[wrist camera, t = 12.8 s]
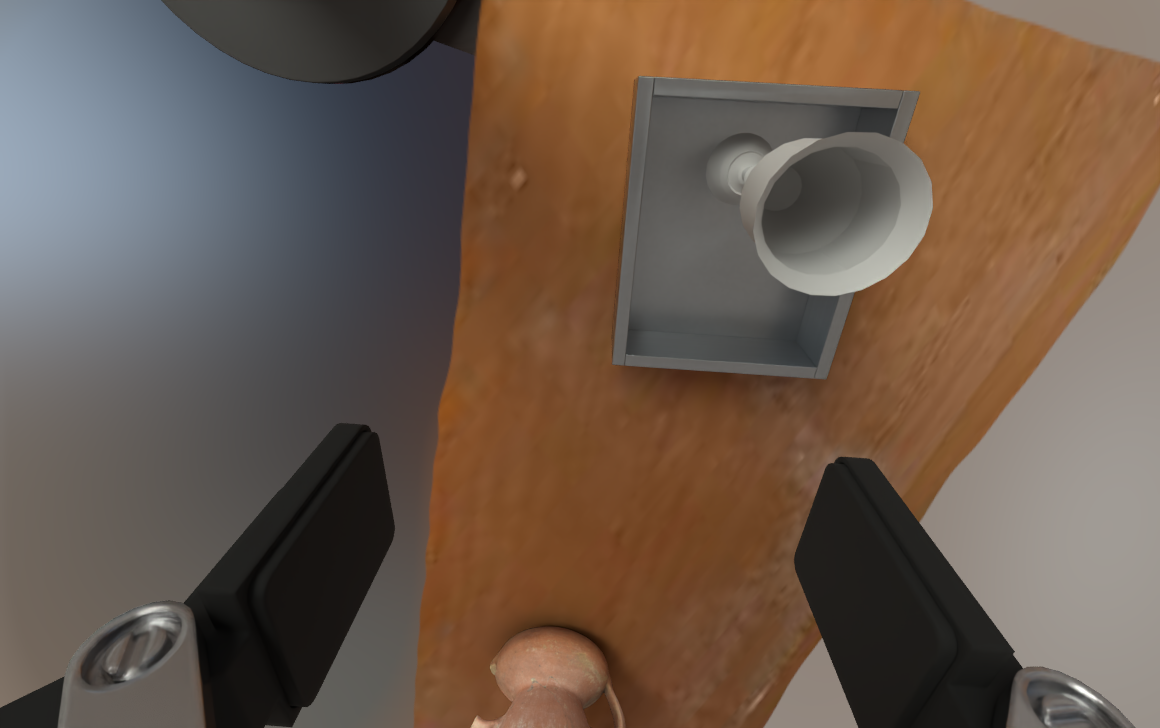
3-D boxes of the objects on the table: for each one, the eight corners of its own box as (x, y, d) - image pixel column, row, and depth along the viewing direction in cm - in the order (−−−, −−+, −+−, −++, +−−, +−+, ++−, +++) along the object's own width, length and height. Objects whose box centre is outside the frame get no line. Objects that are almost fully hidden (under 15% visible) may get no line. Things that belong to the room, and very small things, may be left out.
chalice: (805, 128, 35) (966, 149, 19) (772, 224, 39) (888, 308, 23) (705, 110, 35) (785, 115, 19) (680, 207, 38) (732, 281, 22)
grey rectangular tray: (611, 337, 44) (612, 365, 39) (634, 79, 35) (638, 75, 30) (803, 350, 44) (826, 379, 39) (878, 93, 34) (921, 91, 30)
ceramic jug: (482, 666, 68) (454, 792, 56) (501, 600, 62) (474, 727, 49) (607, 692, 70) (607, 821, 57) (639, 630, 63) (646, 761, 50)
